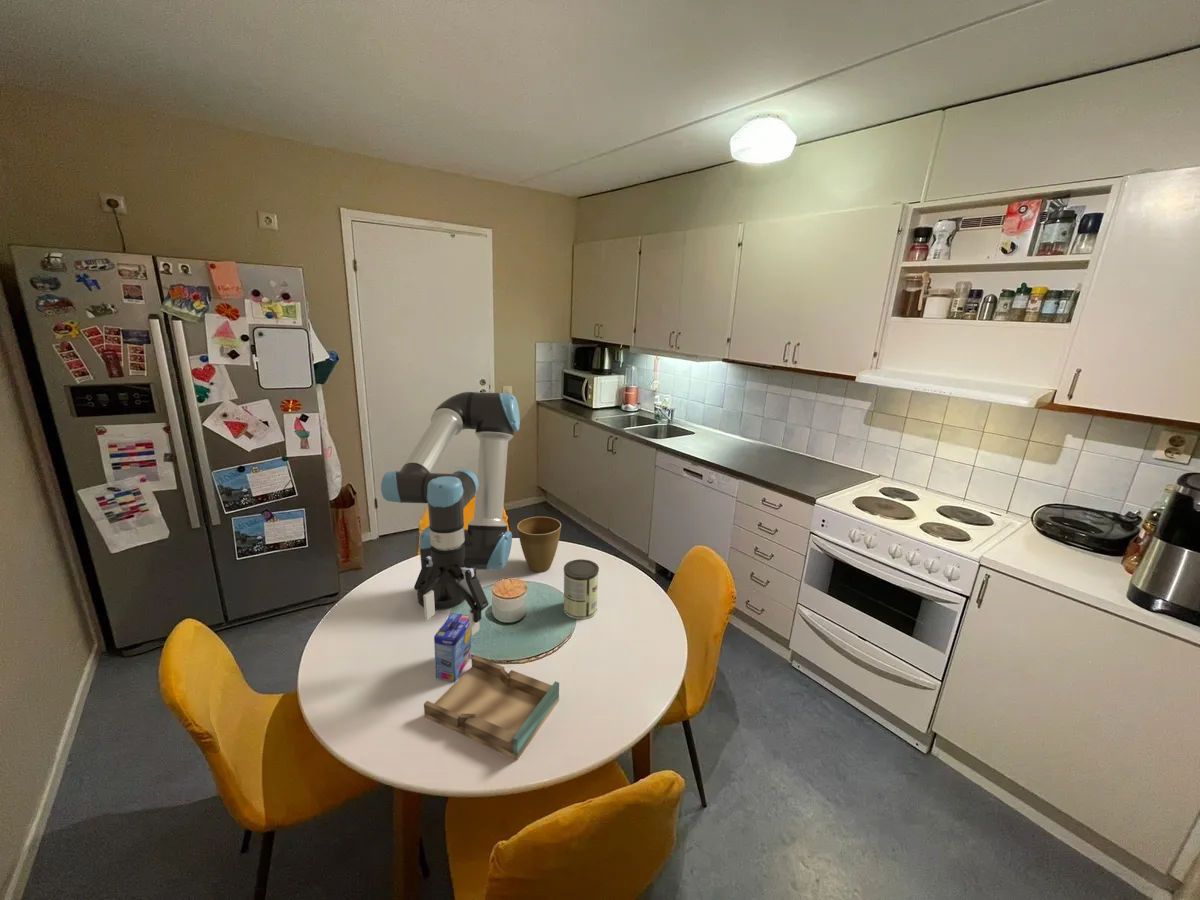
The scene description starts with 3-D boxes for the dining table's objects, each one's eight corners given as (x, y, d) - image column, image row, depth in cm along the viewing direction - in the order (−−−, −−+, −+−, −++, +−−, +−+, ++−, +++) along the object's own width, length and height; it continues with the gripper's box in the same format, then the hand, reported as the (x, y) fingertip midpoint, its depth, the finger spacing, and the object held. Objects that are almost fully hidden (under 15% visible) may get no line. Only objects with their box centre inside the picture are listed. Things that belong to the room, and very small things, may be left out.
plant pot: (564, 558, 175) (564, 517, 171) (555, 579, 161) (556, 536, 156) (524, 554, 177) (523, 514, 172) (512, 575, 162) (511, 532, 158)
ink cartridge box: (456, 683, 115) (453, 631, 111) (434, 679, 116) (431, 628, 112) (473, 655, 124) (471, 606, 120) (453, 652, 125) (450, 603, 121)
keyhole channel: (424, 716, 105) (423, 698, 104) (474, 667, 120) (473, 650, 119) (517, 759, 96) (517, 739, 95) (559, 700, 111) (559, 682, 110)
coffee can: (566, 598, 151) (566, 557, 147) (598, 601, 150) (600, 560, 146) (560, 618, 141) (560, 575, 137) (595, 621, 140) (596, 578, 136)
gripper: (394, 538, 112) (401, 618, 118) (481, 563, 103) (484, 648, 108) (418, 527, 119) (423, 602, 124) (502, 548, 109) (504, 630, 115)
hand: (451, 624), depth 116 cm, fingers open, 13 cm apart
